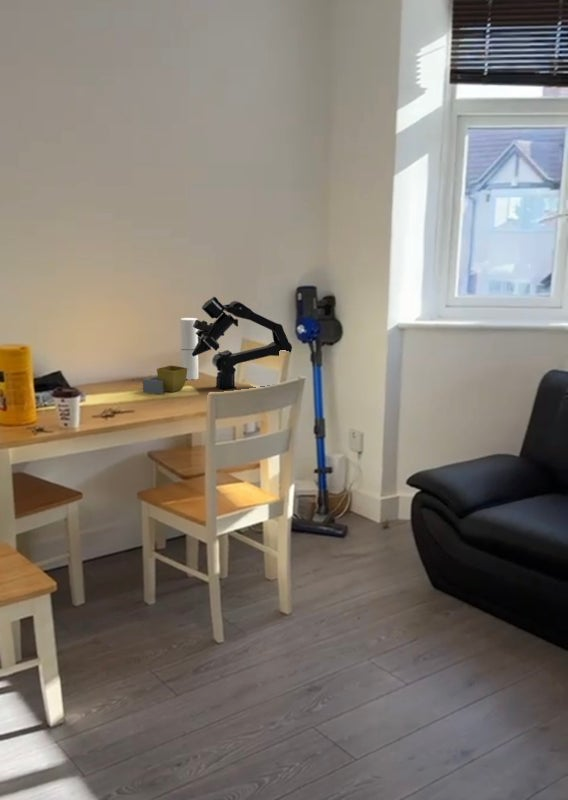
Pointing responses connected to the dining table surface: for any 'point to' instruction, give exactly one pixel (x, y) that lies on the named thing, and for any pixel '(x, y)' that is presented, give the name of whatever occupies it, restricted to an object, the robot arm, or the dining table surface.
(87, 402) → the dining table surface
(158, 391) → the V-block
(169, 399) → the dining table surface
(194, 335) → the cylindrical container
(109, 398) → the dining table surface
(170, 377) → the flower pot
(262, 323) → the robot arm
